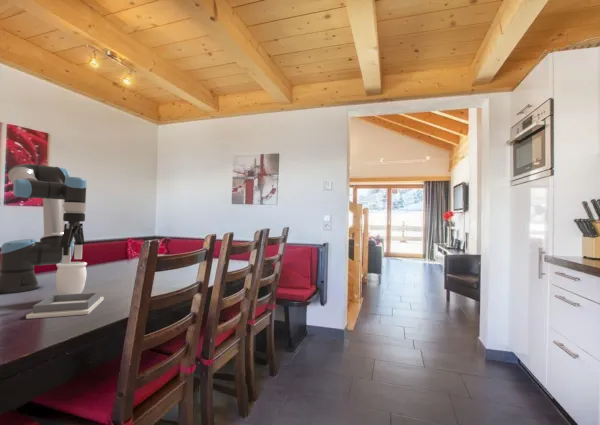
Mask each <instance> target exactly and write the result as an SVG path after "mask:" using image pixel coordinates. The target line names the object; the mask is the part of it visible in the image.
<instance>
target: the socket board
mask: <svg viewBox="0 0 600 425" xmlns="http://www.w3.org/2000/svg"><path fill="white" fill-rule="evenodd" d="M104 299H105V297H104V296H101V292H81V293H78V294H59V293H58V294H51V295H49V296H48V297H46V298H43V300H41V301H39V302H37V303H36V304H34V305H32V311H31V312H29V313H27V314H26V315H25V319H26V320H28V319H39V318H42V319H43V318H51V317H52V318H54V317H57V318H58V317H65V316H66V317H67V316H81V315H83V316H84V315H90V313H91V312H92V311H93V310H94V309H96V308H97V307H98V306H99V305H100V303H102V302H103V301H104Z"/></svg>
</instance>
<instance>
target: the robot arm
mask: <svg viewBox="0 0 600 425" xmlns="http://www.w3.org/2000/svg"><path fill="white" fill-rule="evenodd" d="M7 178H8V180H9V181H10V182H11V184H13V186H12V191H13V196H14V197H17V198H24V199H27V198H28V199H29V198H31V199H42V208H43V209H42V210H43V211H42V212H43V214H42V215H43V235H42V236H41V237H40V239H39V241H37V240H36V239H34V238H29V239H26V238H25V239H18V240H11V241H7V242H4V243H2V245H1V248H0V294H12V293H21V292H28V291H32V290H35V289H38V288H39V282H38V278H37V276H36V273H35V266H36V267H37V266H47V265H48V266H49V265H50V266H51V265H56V264H58V263H71V262H72V261H71V260H72V258H73V256H74V258H73V260H82V259H83V245H85V244H86V242H85V235H84V230H83V227H84V226H83V223H82V222H85V220H86V214H85V212H86V206H87V205H86V204H87V203H86V200H87V199H86V198H87V188H88V185H87V179H86V178H84V177H77V176H71V175H70V171H69V170H68V169H66V168H63V167H59V166H49V165H41V164H36V163H22V164H18V165H15V166H13V167H11V168H10V169H9V170H8V172H7ZM66 222H67V223H66ZM73 240H74V241H73Z"/></svg>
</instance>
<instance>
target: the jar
mask: <svg viewBox="0 0 600 425" xmlns="http://www.w3.org/2000/svg"><path fill="white" fill-rule="evenodd" d="M55 265H56V268H57V270H56V272H55V273H56V274H55V285H56V291H57V293H58V295H59V294H78V293H83V291H84V289H85V285H86V280H87V276H88V275H87V273H88V272H87V268H86V266H87V265H88V262H85V261H71V263H58V264H55Z"/></svg>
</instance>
